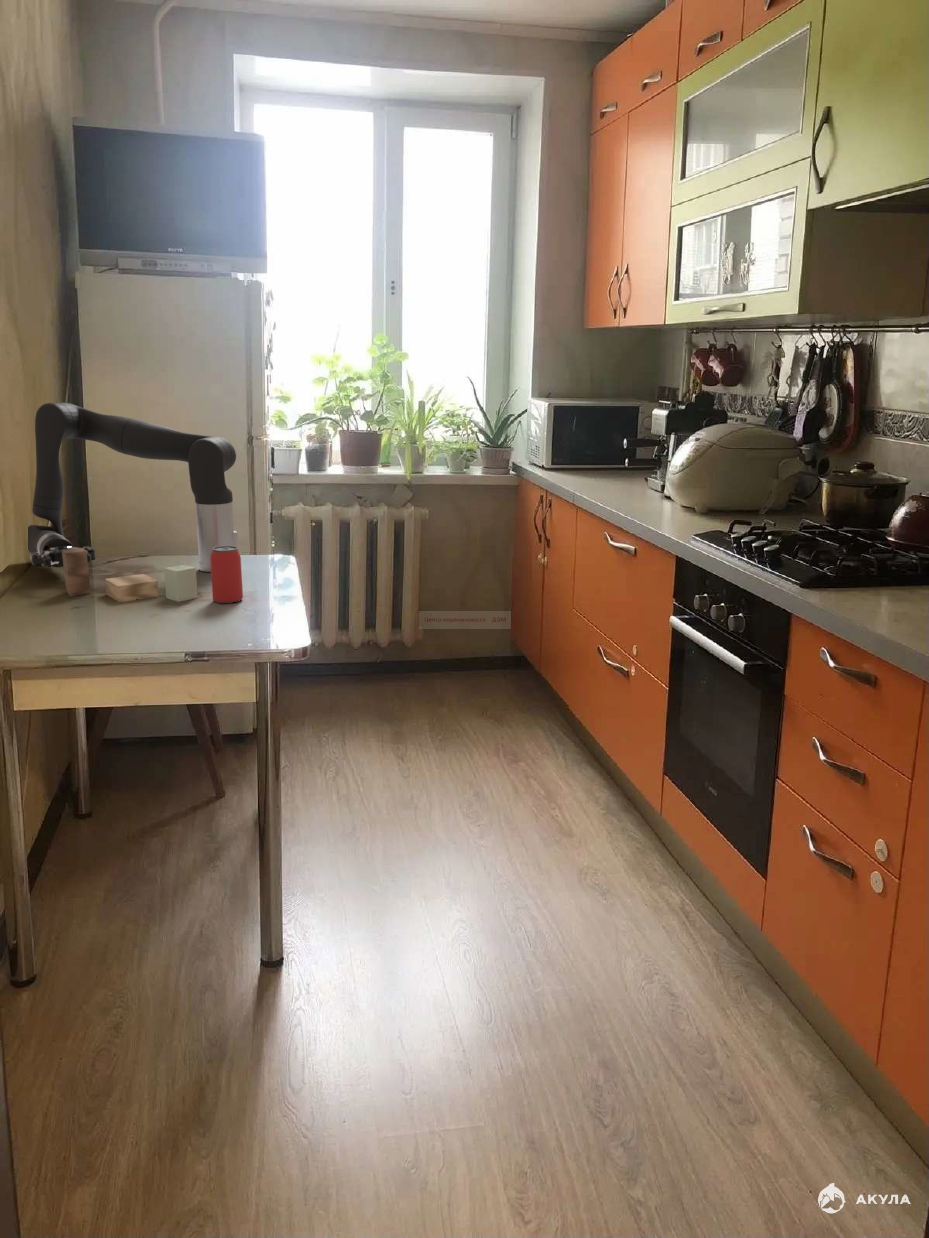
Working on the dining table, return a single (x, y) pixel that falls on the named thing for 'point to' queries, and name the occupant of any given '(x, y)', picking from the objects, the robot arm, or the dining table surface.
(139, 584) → the oak base block
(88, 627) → the dining table surface
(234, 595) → the beer can
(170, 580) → the sage green block
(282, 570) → the dining table surface
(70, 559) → the walnut pillar
